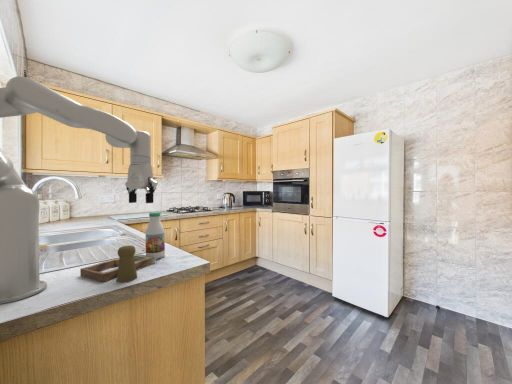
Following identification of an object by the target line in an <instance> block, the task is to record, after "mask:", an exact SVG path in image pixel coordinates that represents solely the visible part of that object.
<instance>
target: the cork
mask: <svg viewBox="0 0 512 384" xmlns="http://www.w3.org/2000/svg"><path fill="white" fill-rule="evenodd" d="M134 254H136V248H135V246H134V245H122V246H120V247H119V248H118V249H117V256H118V258H119V257H120V259H119V266H117V268H118V273H117V277H116V282H117V283H127V282H132V281H134V280H136V279H137V278H138V273H137V270H136V266H135V260H134Z"/></svg>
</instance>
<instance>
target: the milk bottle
mask: <svg viewBox="0 0 512 384" xmlns="http://www.w3.org/2000/svg"><path fill="white" fill-rule="evenodd" d="M161 215H162V214H161V212H159V211H154V212H153V211H152V212H149V213H148V216H149V222H148V224H147V227H146V229H145V255H147V256H153V257H155V260H158V259H162V258H164V257H165V255H166V252H165V251H166V248H165V247H166V246H165V245H166V244H165V243H166V242H165V239H166V238H165V236H166V235H165V228H164V225H163V223H162V221H161Z"/></svg>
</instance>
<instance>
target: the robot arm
mask: <svg viewBox="0 0 512 384" xmlns="http://www.w3.org/2000/svg"><path fill="white" fill-rule="evenodd" d="M37 113H38V114H40V115H41V116H45V117H47V118H49V119H51V120H54V121H56V122H58V123H60V124H62V125H65V126H67V127H70V128H75V129H87V130H90V131H95V132H98V133H101V134H104V135H105V137H104V138H105V141H106V143H108V145H109V146H111V147H113V148H118V149H119V148H121V149H122V148H123V149H125V148H126V149H129V151H130V152H129V153H130V154H129V157H130V159H129V162H130V164H129V166H128V170H127V181H126V182H125V188H126V191H127V194H128V203H129V204H133V203H134V204H135V203H137V202H138V201H137V198H138V196H137V194H138V193H137V191H138V189H139V190H145V204H154V194H155V191H156V189H157V186H158V181H156V180H155V179H154V173H153V167H152V164H151V163H152V159H151V158H152V149H151V148H152V147H151V146H152V144H151V143H152V142H151V141H152V138H151V134H150V133H149V132H147V131H144V130H136V129H135V128H134V127H133V126H132V125H130V123H128V122H127V121H124V120H122V119H121V118H119V117H117V116H116V115H113V114H111V113H108V112H105V111H103V110H101V109H97V108H94V107H90V106H88V105H83V104H81V103H79V102H78V101H75V100H73V99H71V98H70V97H67V96H66V95H64V94H61V93H60V92H58V91H56V90H54V89H52V88H50V87H49V86H46V85H44V84H43V83H40V82H38V81H36V80H34V79H33V78H30V77H26V76H21V75H19V76H14V77H11V78H10V79H9V80H8V81H7V82H6V84H5V87H0V119H1V118H9V117H10V118H13V117H19V116H25V115H32V114H37ZM39 220H40V199H39V196H38V194H37V193H36V192H35V191H34V190H33V189H31V188H30V187H28V185H27V184H26V183H25V182H24V180H23V178H22V177H21V176H20V175H19V173H18V172H17V170H16V168H15V167H14V164H13V161H12V160H11V159H10V158H9V157H8V156H7V155H6V153H4V151H3V150H2V148H0V304H6V303H11V302H15V301H19V300H24V299H26V298H29V297H32V296H34V295H36V294H39V293H41V292H42V291H44V290H45V289H46V288H47V286H48V283H47V282H46V281H44V280H40V237H39V235H40V234H39V229H40V228H39V226H40V225H39V223H40V222H39Z"/></svg>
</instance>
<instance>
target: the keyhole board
mask: <svg viewBox="0 0 512 384" xmlns="http://www.w3.org/2000/svg"><path fill="white" fill-rule="evenodd" d="M119 259H120V257H119V256H118V257H117V258H113V259H109V260H105V261H103V262H100V263H97V264H92V265H89V266H85V267H83V268H80V271H79V272H80V277H84V278H87V279H90V280H93V281H97V282H99V283H105V282H107V281H110V280H113V279H115V278H116V279H117V273H118V266H119ZM134 260H135V266H136V271H138V270H141V269H143V268H145V267H147V266H151V265H153V264H155V263H156V259H155V257H153V256H147V255H146V254H140V253H135V254H134ZM115 267H116V268H115ZM111 268H114V269H111ZM108 269H111V270H108ZM105 270H108V271H105ZM101 271H102V272H101ZM103 271H104V272H103Z"/></svg>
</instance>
